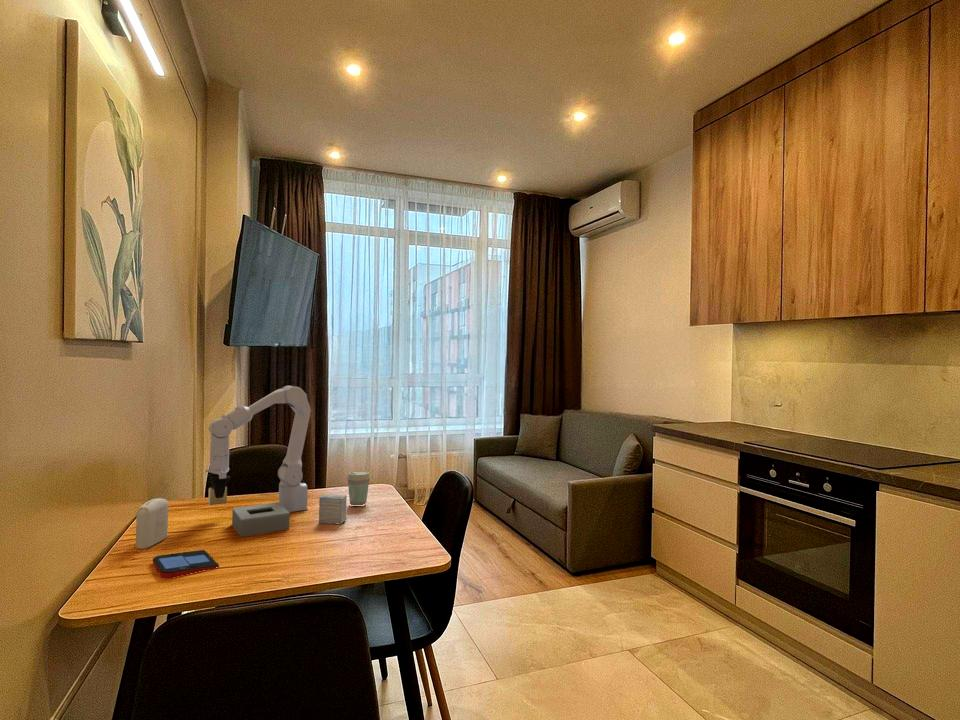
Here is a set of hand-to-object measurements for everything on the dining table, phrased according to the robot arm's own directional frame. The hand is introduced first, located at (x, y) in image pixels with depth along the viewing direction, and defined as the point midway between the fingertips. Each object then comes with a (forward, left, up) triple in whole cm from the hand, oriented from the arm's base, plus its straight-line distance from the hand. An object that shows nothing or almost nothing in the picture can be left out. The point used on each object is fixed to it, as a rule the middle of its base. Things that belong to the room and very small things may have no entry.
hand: (218, 496), depth 168 cm
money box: (-10, +15, -8) cm, 20 cm away
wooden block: (0, 0, -2) cm, 2 cm away
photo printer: (+19, +14, -8) cm, 25 cm away
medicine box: (-31, +22, -8) cm, 39 cm away
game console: (+13, +37, -8) cm, 40 cm away
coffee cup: (-46, +7, -8) cm, 47 cm away
